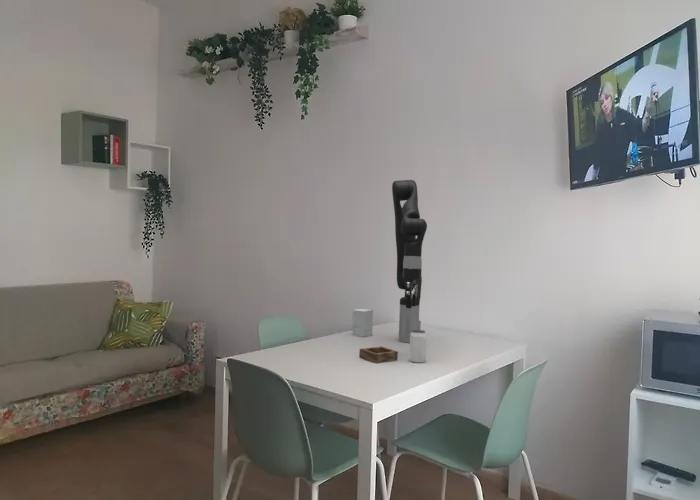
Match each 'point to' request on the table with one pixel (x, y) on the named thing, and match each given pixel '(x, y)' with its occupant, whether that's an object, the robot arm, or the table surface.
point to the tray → (378, 354)
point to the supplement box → (362, 322)
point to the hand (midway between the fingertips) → (410, 307)
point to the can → (417, 346)
